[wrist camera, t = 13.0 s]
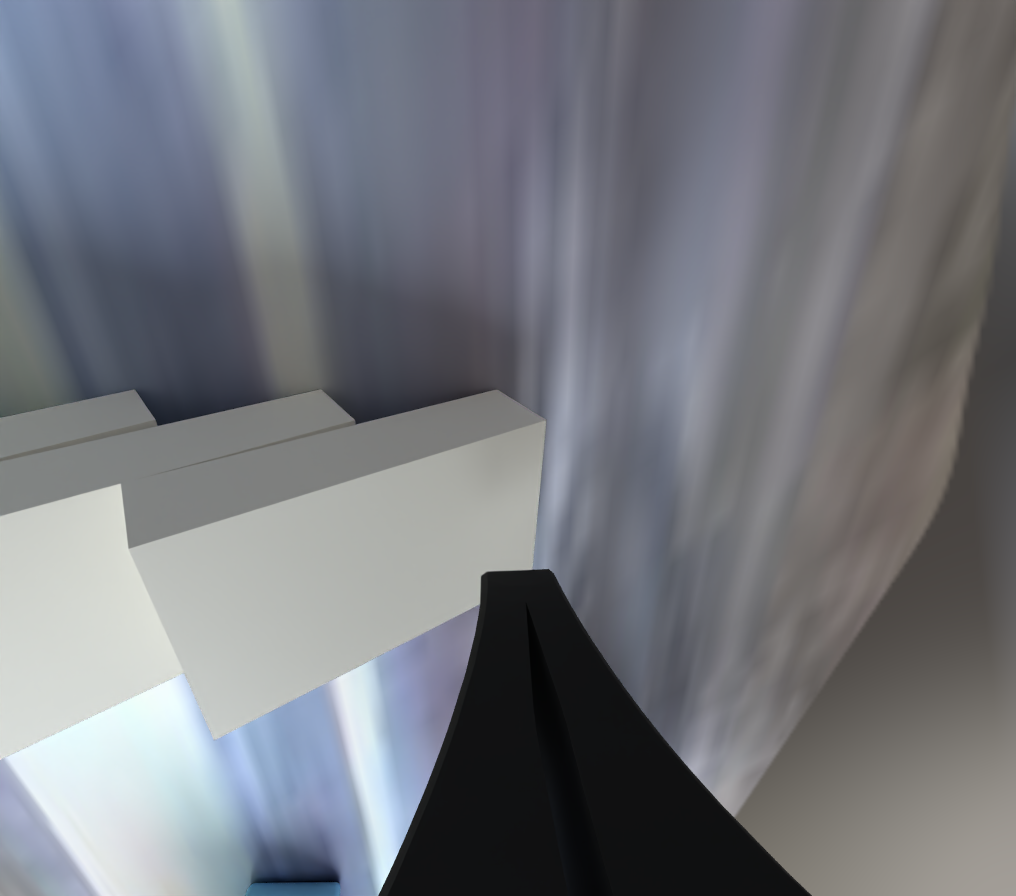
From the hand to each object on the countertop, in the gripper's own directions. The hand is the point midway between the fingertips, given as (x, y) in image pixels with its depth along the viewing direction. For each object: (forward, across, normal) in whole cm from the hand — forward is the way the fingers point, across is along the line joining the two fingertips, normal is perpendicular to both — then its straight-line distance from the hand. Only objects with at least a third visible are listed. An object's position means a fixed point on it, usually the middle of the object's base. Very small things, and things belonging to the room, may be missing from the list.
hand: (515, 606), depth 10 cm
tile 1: (+4, 0, 0) cm, 4 cm away
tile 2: (+4, +4, 0) cm, 6 cm away
